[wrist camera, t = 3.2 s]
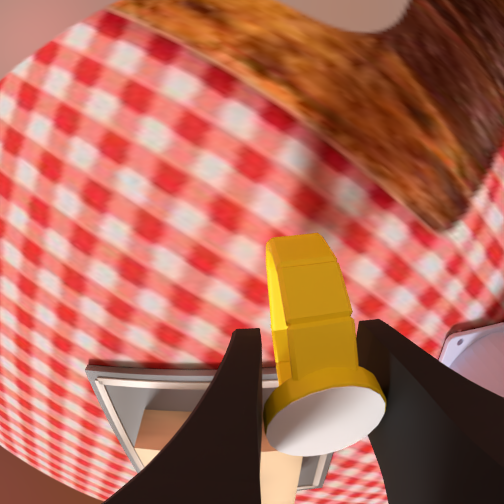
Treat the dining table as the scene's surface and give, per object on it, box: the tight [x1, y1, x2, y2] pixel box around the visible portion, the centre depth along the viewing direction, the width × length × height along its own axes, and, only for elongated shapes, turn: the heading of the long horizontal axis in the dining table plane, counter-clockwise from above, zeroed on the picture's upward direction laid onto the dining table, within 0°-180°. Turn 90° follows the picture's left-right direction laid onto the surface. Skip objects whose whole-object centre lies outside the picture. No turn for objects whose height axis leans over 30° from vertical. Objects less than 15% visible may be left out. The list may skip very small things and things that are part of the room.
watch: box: [263, 233, 386, 456], centre depth 9 cm, size 6×3×6 cm, turn 6°
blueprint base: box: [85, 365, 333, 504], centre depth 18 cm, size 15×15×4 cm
